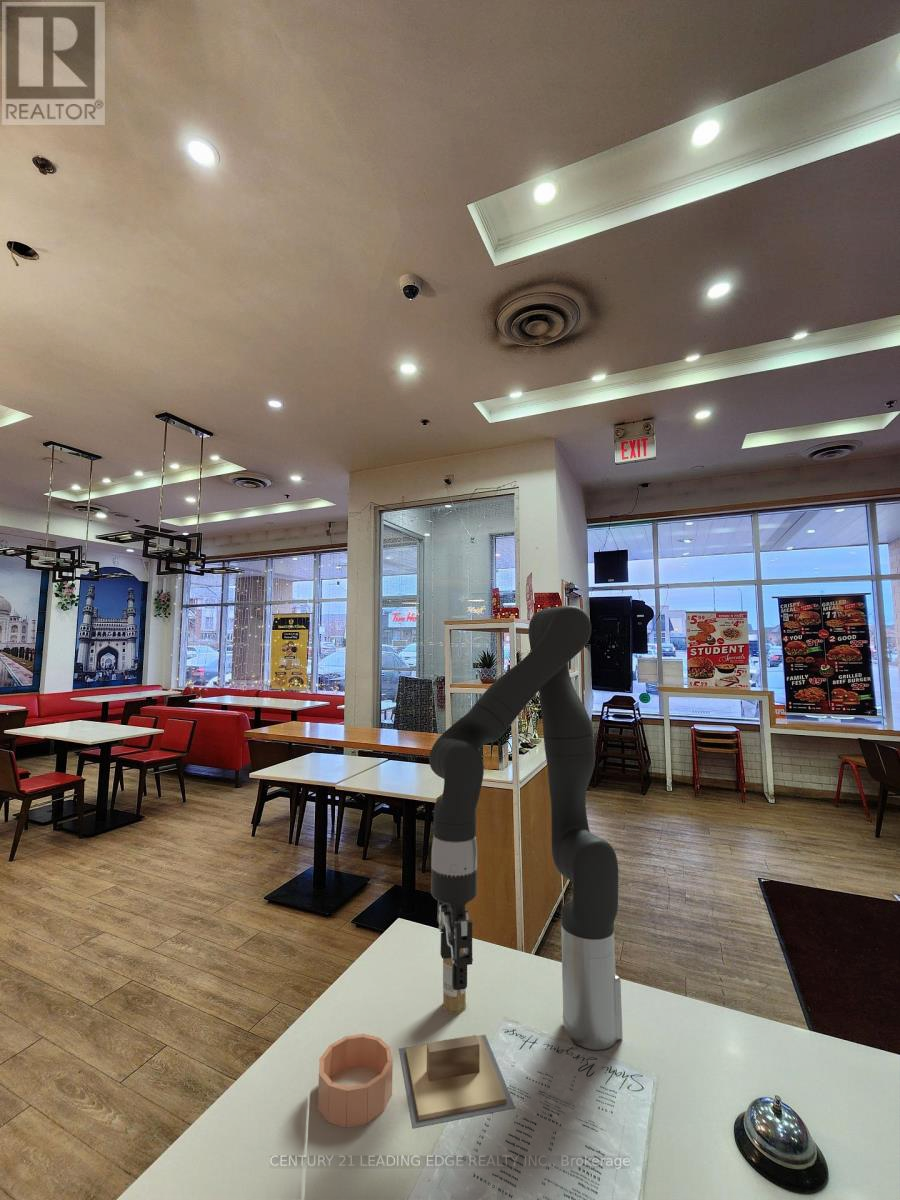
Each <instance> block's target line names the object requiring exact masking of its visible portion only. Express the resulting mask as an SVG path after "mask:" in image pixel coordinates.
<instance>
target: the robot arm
mask: <svg viewBox="0 0 900 1200" xmlns="http://www.w3.org/2000/svg"><path fill="white" fill-rule="evenodd" d="M591 635H592V623H591V619H590V617H589V615H588V614H587V613H586V612H585V610H583V609H582V608H580V607H578V606H576V605H561V606H560V605H559V606H555V607H548V608H543V609H541V610H538V611H537V612H535V613H534V614H533V616H532V617H531V618H530V621H529V623H528V640H529V641H528V642H529V647H530V652H529V653H528V654H527V655H526V656H525V657H524V658H523V659H521V660H520V661H519V662H518V663H516V664H515V665H514V666H513V667H511V668H510V669H509V670H508V671H506V672H505V673H504V674H502V675H501V676H499V678H497V679H496V680H495V681H494V682H493V683H492V684H491V685H490V686H489V687H488V688H487V689H486V690H485V691H484V692H483V693H482V695H481V696H480V697H479V698H478V699H477V701H476V702H475V704H473V706H472V707H471V708H470V710H469V711H468V712H467V713H466V714H465V715H464V716H462V717H461V718H460V719H459V720H456V721H455V723H454V724H452V725H451V726H450V727H449V728H447V729H446V730H445V731H444V732H443V733H442V734H441V735H440V736H439V737H438V738H437V739H436V741H435V742H434V743H433V745H432V747H431V749H430V752H429V756H428V757H429V758H428V761H429V767H430V769H431V770H432V772H433V773H434V774H435V775H436V776H437V777H440V778H441V779H443V791H442V796H441V797H439V798H438V799H437V800H436V801H435V804H434V808H433V831H432V833H433V837H432V845H431V860H430V861H431V863H430V864H431V865H430V866H431V869H430V871H431V873H430V874H431V876H430V894H431V896H432V898H433V899H434V900H436V901H437V913H436V914H437V915H436V916H437V917H436V921H437V923H438V930H439V932H440V951H439V952H440V957H441V959H442V960H443V959H446V958H451V959H452V986H453V989H454V990H462V989H466V990H467V987H468V966H469V965H473V961H474V959H473V922H472V919H470V917H469V910H468V909H466V905H467V904H468V903H469V902H470V901H473V900H474V899H475V898H476V897H477V895H478V845H477V813H476V812H477V806H478V803H479V800H480V799H479V798H480V795H481V790H482V786H483V785H482V784H483V780H484V773H485V772H484V771H485V770H484V769H485V768H484V760H483V756H482V752H481V751H480V749H481V748H482V747H483V746H485V745H486V744H490V743H495V742H497V741H499V739H500V738H501V737H502V736H503V735H504V734H505V733H506V731H507V730H508V729H509V727H511V725H512V724H513V722H514V721H515V720H516V719H517V717H518V716H519V714H520V713H521V712H522V711H523V709H525V707H526V706H527V705H528V704H529V702H530V701H531V700H532V699H533V698H534V697H535V696H536V695H537V693H538V695H539V704H540V711H541V713H540V714H541V721H542V733H543V743H544V744H543V745H544V752H545V754H544V755H545V758H546V759H545V760H546V766H547V776H548V777H547V778H548V786H549V787H548V788H549V796H550V808H551V809H550V811H551V815H550V816H551V821H550V822H551V824H550V825H551V829H550V830H551V854H552V856H551V857H552V860H553V863H554V865H555V868H556V869H557V871H558V872H559V873H560V874H561V875H562V877H564V878H566V879H567V880H568V881H570V882H571V883H572V899H571V900H568V901H567V902H565V903H564V904H563V905H562V906H561V911H560V920H561V921H560V923H561V924H560V927H561V928H560V929H561V933H560V934H561V968H562V969H561V974H562V976H561V978H562V979H561V981H562V1019H563V1020H562V1021H563V1024H562V1025H563V1026H562V1027H563V1029H564V1032H565V1034H566V1035H567V1036H568V1037H569V1039H570V1040H571V1042H573V1043H574V1044H576V1045H578V1046H580V1047H582V1048H585V1049H588V1050H595V1051H600V1050H607V1049H608V1048H609V1049H610V1048H611V1047H613V1046H614V1045H615V1044H616V1042H617V1041H619V1040H623V1037H624V1036H623V1013H622V1012H623V1011H622V1009H623V1008H622V986H621V985H622V984H621V978H620V976H619V975H618V974H616V950H615V949H616V946H615V920H616V918H617V915H618V911H619V861H618V857H617V853H616V851H615V849H614V848H613V846H612V844H610V843H609V842H608V841H607V840H605V839H604V838H602V837H599V836H597V835H596V834H594V833H592V832H591V831H590V827H589V821H588V815H587V807H586V803H587V802H586V801H587V799H586V797H587V791H588V787H589V784H590V782H591V778H592V776H593V772H594V769H595V765H596V749H595V739H594V731H593V725H592V721H591V718H590V715H589V714H588V712H587V709H586V707H585V705H584V704H583V701H582V700H581V698H580V696H579V694H578V692H577V691H576V689H575V686H574V685H573V681H572V679H571V676H570V670H569V662H570V661H572V659H574V658H575V657H576V655H578V654H579V653H580V652H581V651H582V650H583V649H584V648H585V647H586V646H587V644H588V643H589V641H590V639H591ZM454 936H455V938H454ZM461 948H463V950H464V953H461V954H460V949H461Z"/></svg>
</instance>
